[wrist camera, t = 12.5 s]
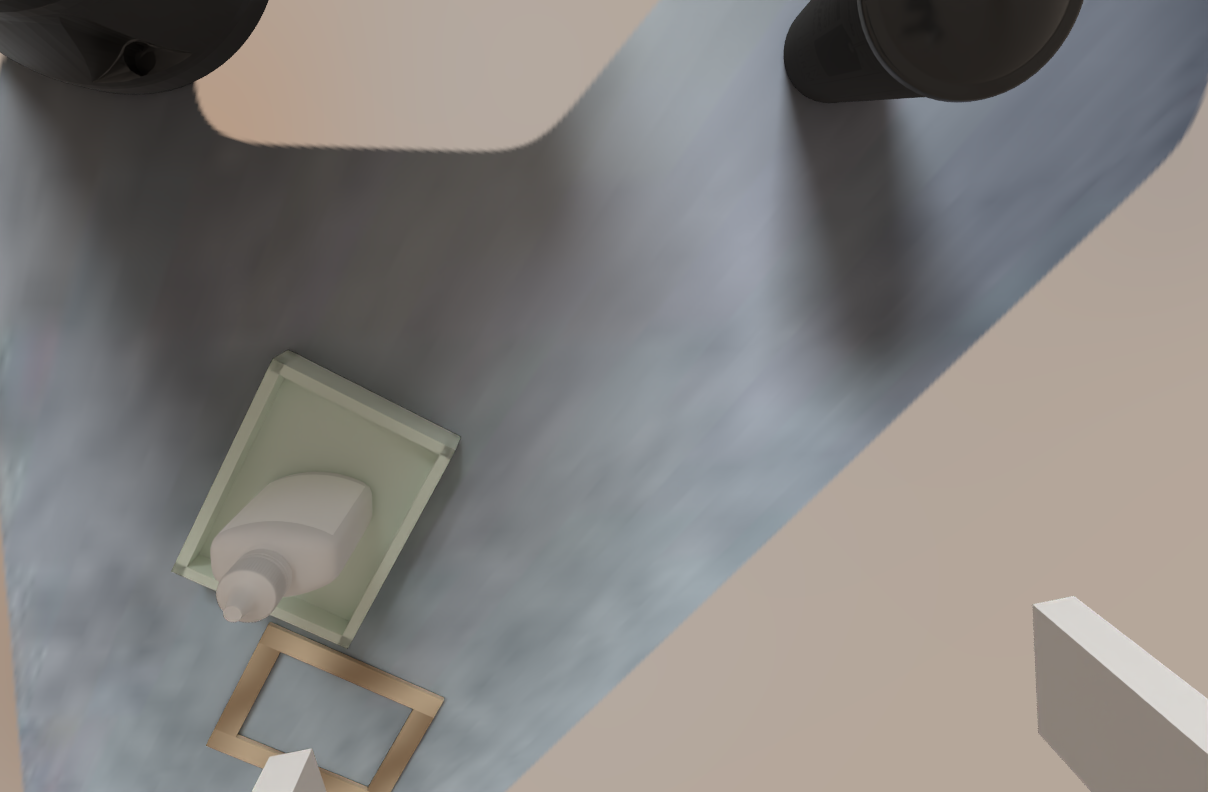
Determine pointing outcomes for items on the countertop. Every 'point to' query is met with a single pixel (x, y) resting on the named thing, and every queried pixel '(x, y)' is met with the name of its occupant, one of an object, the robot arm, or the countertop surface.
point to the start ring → (338, 665)
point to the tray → (337, 445)
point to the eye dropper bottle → (288, 541)
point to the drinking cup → (922, 47)
